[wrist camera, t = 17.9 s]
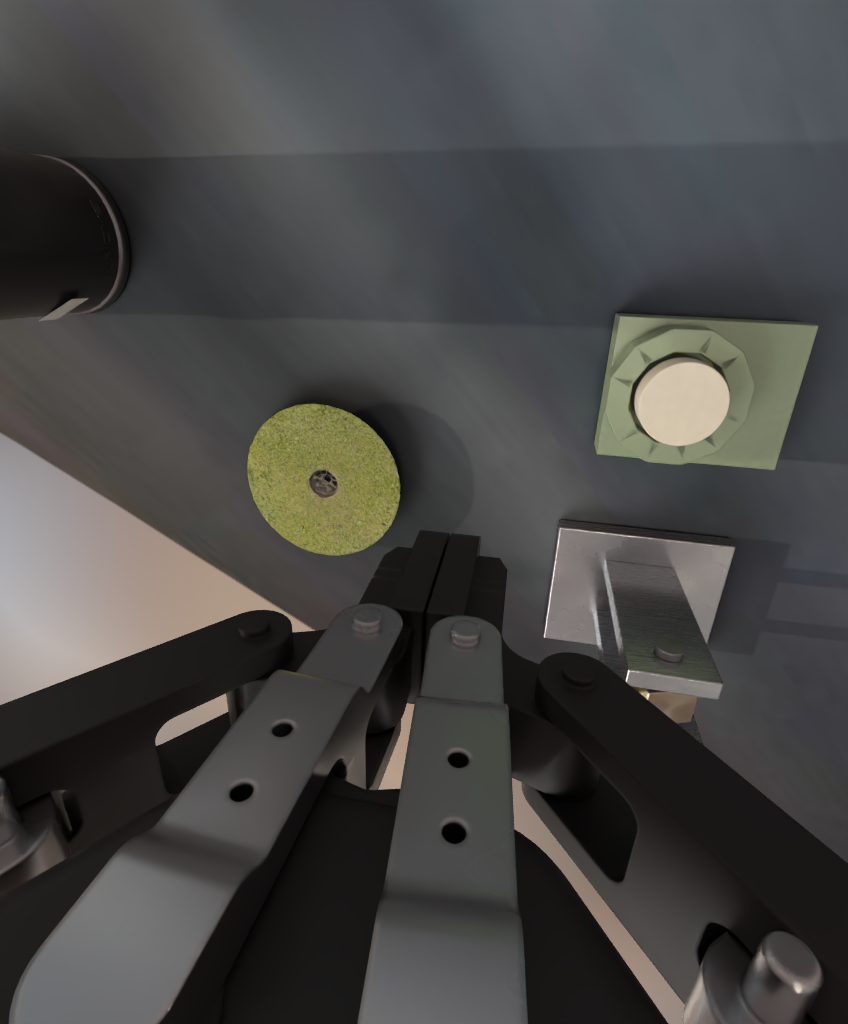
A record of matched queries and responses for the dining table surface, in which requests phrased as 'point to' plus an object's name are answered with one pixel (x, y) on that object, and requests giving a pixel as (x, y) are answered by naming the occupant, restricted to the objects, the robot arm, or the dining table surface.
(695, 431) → the button
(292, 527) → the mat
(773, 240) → the dining table surface
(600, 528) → the bracket
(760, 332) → the control block
